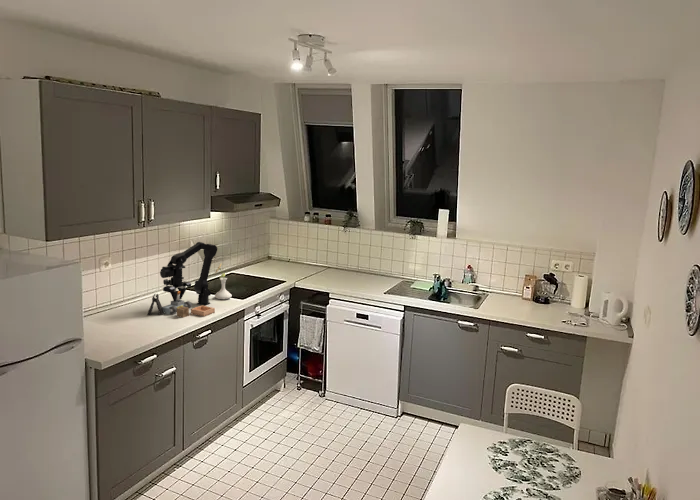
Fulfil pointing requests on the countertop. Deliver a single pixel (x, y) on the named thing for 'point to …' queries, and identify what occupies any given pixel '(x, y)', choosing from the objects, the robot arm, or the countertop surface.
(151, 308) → the phone stand
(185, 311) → the taped cardboard box
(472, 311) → the countertop surface
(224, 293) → the flower in vase
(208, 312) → the open tan box
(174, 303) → the dolly
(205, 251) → the robot arm
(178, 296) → the pin
